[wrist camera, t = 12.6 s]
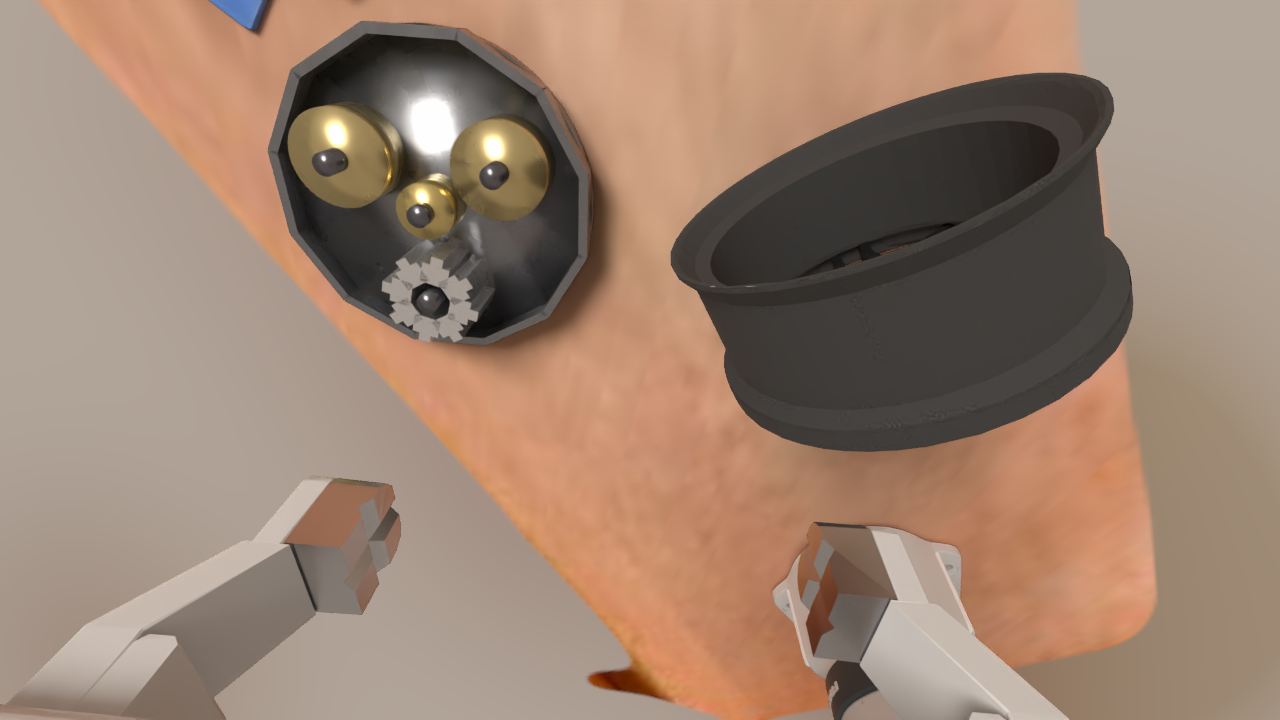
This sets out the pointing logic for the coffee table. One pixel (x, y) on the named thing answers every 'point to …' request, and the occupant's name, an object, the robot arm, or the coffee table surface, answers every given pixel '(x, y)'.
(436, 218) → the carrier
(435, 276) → the planet gear
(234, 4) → the shape sorter
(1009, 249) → the wheel rim
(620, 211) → the coffee table surface
